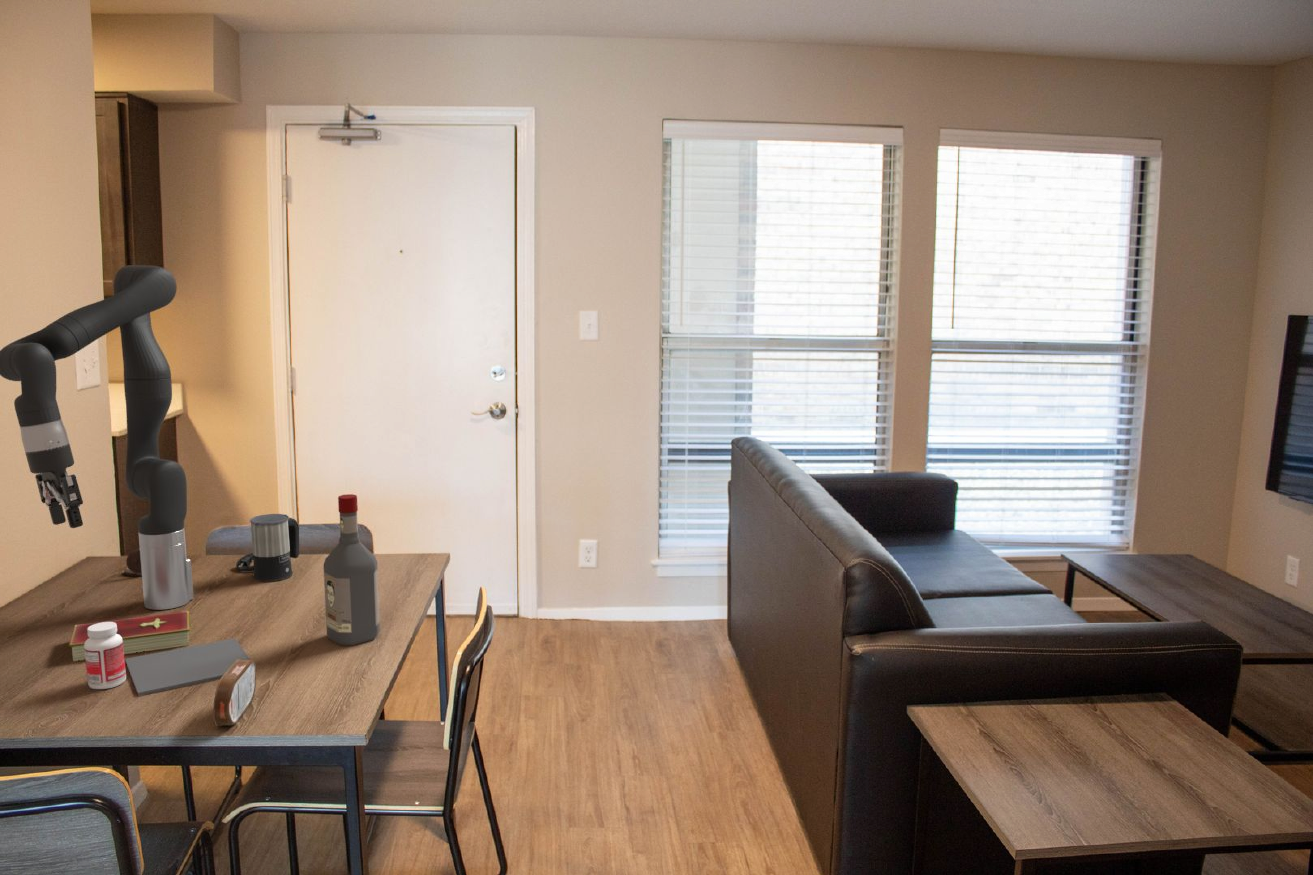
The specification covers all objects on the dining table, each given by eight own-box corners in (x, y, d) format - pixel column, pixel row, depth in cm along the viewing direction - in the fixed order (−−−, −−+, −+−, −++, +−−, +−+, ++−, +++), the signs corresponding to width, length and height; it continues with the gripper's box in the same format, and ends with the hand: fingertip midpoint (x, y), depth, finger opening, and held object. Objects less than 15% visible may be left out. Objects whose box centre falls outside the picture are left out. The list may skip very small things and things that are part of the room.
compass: (148, 567, 248) (146, 539, 247) (156, 575, 242) (154, 546, 241) (113, 573, 243) (110, 545, 242) (120, 581, 237) (117, 552, 236)
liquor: (363, 625, 211) (357, 489, 206) (384, 637, 205) (379, 496, 199) (322, 636, 205) (315, 495, 199) (343, 648, 198) (337, 504, 193)
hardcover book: (76, 642, 201) (74, 623, 200) (190, 627, 210) (188, 608, 209) (70, 664, 190) (68, 643, 189) (190, 647, 199) (189, 627, 198)
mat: (138, 695, 176) (138, 692, 176) (125, 661, 191) (125, 658, 190) (256, 671, 187) (255, 668, 187) (235, 640, 202) (235, 637, 202)
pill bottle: (128, 674, 185) (123, 618, 183) (123, 687, 179) (118, 630, 177) (91, 678, 183) (85, 622, 181) (84, 692, 177) (79, 634, 175)
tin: (242, 695, 177) (239, 651, 176) (260, 694, 177) (258, 650, 176) (212, 735, 162) (209, 687, 161) (232, 734, 162) (229, 686, 161)
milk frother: (283, 582, 238) (280, 523, 235) (219, 581, 238) (215, 522, 235) (305, 565, 252) (302, 508, 249) (244, 563, 252) (240, 507, 249)
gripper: (82, 442, 189) (103, 522, 192) (53, 440, 198) (74, 516, 201) (39, 451, 184) (61, 534, 187) (12, 449, 193) (33, 528, 196)
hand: (68, 525), depth 194 cm, fingers open, 8 cm apart
